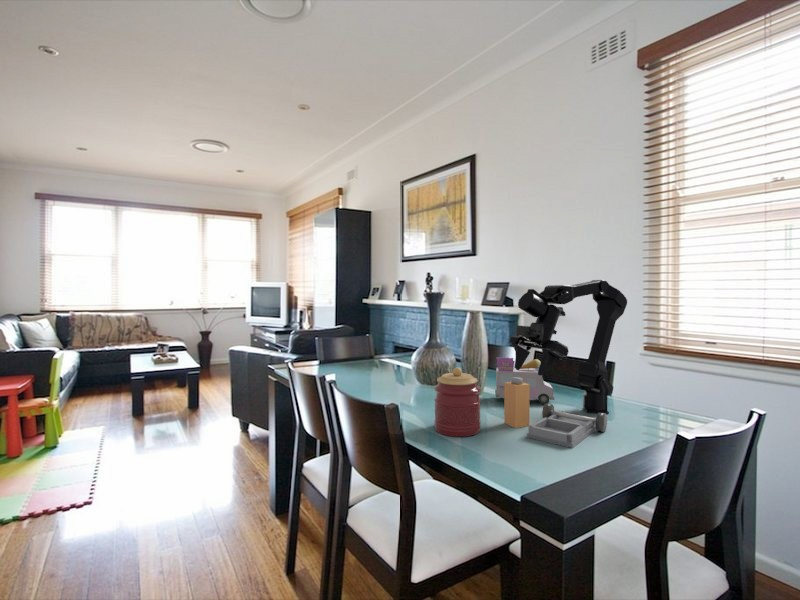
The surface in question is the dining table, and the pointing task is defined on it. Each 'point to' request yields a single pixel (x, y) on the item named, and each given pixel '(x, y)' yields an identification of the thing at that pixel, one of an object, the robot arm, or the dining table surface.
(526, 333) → the robot arm
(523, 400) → the block with grey dome
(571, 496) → the dining table surface
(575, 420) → the chassis
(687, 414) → the dining table surface
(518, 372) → the toy vehicle
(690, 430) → the dining table surface
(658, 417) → the dining table surface
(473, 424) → the canister
